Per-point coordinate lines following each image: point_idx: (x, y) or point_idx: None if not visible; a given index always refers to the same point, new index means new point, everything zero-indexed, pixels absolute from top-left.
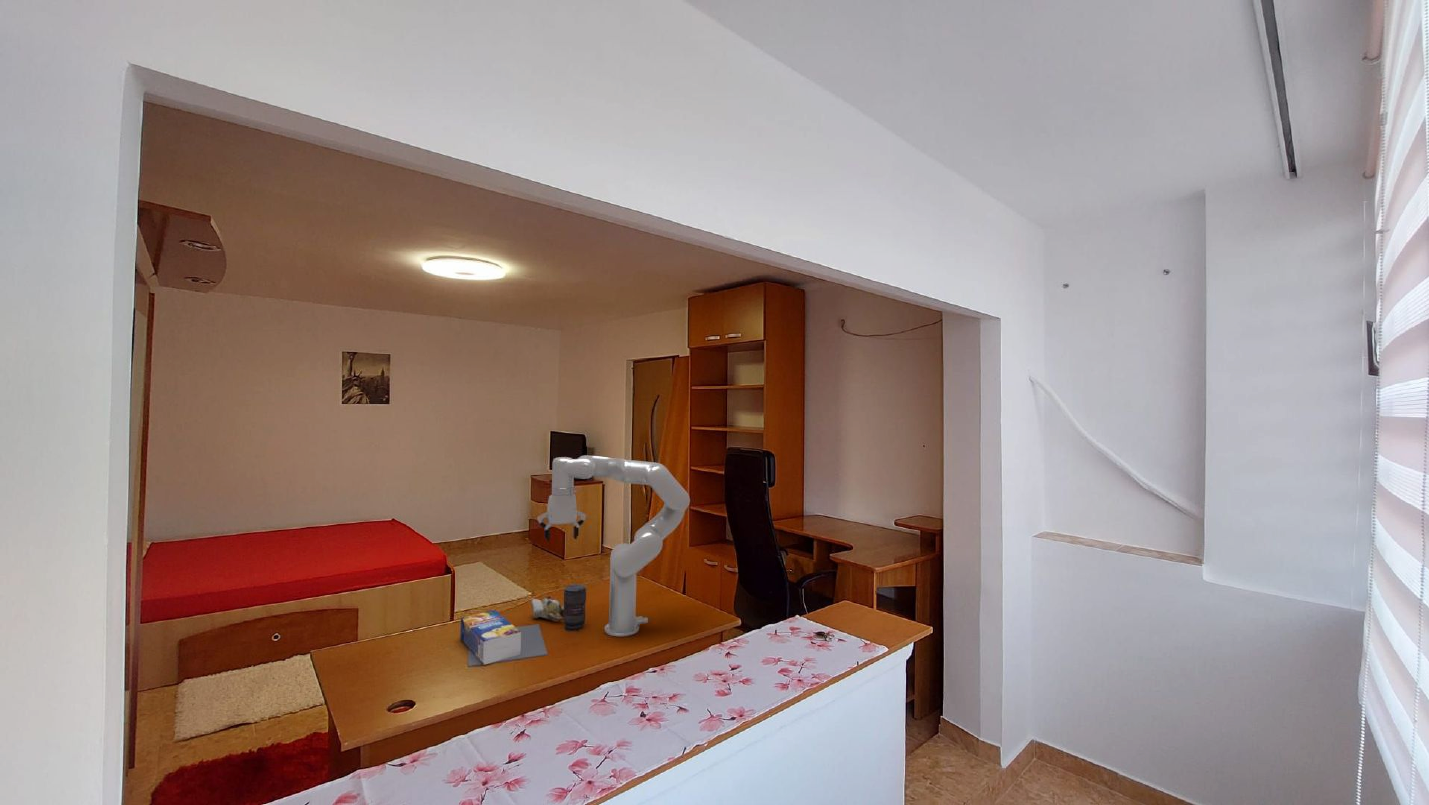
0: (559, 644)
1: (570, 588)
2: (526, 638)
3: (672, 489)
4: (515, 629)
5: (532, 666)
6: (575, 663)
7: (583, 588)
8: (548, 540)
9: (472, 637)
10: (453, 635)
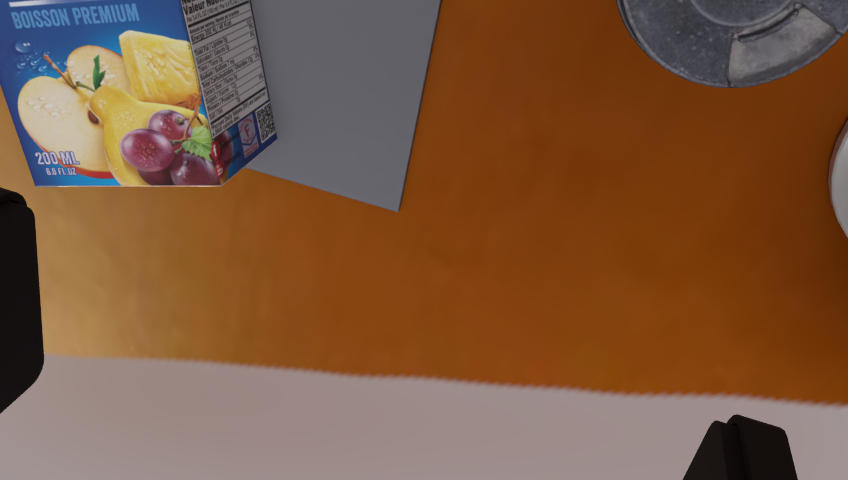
0: (502, 126)
1: None
2: None
3: None
4: (196, 132)
5: (308, 268)
6: (486, 356)
7: (823, 17)
8: (18, 379)
9: None
10: None
